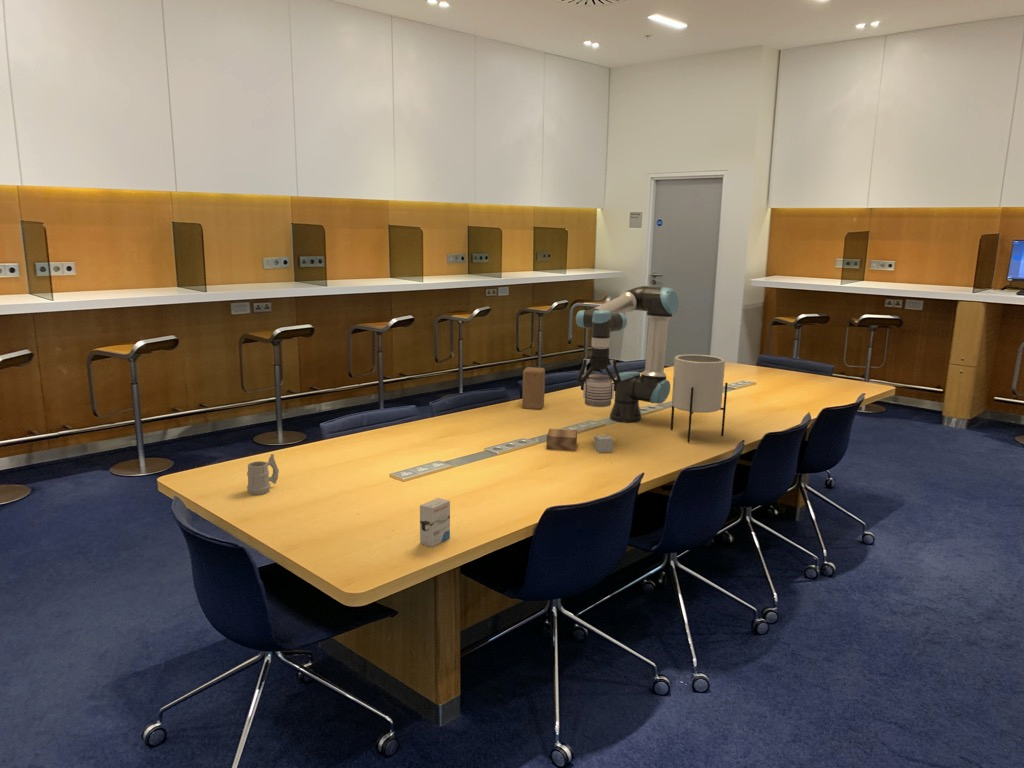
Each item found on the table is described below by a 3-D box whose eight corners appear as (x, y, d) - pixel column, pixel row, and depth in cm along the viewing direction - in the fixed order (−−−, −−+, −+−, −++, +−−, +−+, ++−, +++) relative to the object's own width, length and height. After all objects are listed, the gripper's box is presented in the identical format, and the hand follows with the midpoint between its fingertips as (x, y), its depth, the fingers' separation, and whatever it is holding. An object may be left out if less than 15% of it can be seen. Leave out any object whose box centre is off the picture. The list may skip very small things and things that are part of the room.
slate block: (607, 448, 322) (607, 434, 321) (612, 452, 316) (613, 438, 315) (593, 449, 320) (594, 435, 319) (598, 453, 315) (599, 439, 313)
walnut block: (576, 443, 329) (577, 430, 327) (575, 451, 317) (575, 437, 316) (549, 442, 330) (549, 428, 329) (546, 449, 318) (546, 436, 317)
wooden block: (541, 410, 386) (542, 371, 382) (521, 408, 388) (522, 370, 384) (544, 405, 396) (545, 367, 392) (525, 404, 398) (526, 366, 394)
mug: (242, 492, 260) (240, 458, 258) (271, 483, 270) (270, 450, 267) (255, 497, 256) (254, 462, 254) (285, 488, 265) (284, 454, 263)
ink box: (438, 534, 229) (438, 496, 226) (450, 538, 226) (450, 500, 224) (418, 543, 222) (418, 504, 219) (431, 547, 219) (431, 508, 217)
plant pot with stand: (725, 433, 349) (731, 357, 341) (715, 446, 327) (722, 365, 320) (673, 427, 358) (678, 352, 351) (660, 439, 337) (665, 360, 330)
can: (613, 402, 329) (615, 375, 327) (608, 408, 318) (609, 380, 316) (588, 400, 333) (589, 373, 330) (581, 405, 322) (582, 377, 320)
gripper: (627, 346, 324) (624, 396, 328) (571, 345, 324) (569, 395, 329) (629, 349, 317) (627, 400, 321) (572, 348, 317) (570, 399, 322)
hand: (598, 398), depth 325 cm, fingers closed on can, 11 cm apart
